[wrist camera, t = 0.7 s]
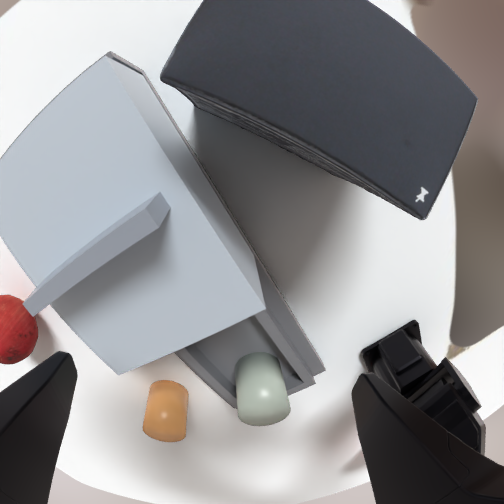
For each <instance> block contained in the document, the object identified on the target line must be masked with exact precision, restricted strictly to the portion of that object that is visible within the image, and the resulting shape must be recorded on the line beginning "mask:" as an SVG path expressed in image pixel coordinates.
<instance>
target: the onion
mask: <svg viewBox="0 0 504 504" xmlns="http://www.w3.org/2000/svg"><path fill="white" fill-rule="evenodd" d="M23 303H24V301H22V300H21V299H19V298H16V297H14V296H11V295H0V363H2V364H15V363H18V362H20V361H22V360H23V359H25V358H27V357H28V356H29V355H30V354H31V353H32V352H33V349H34V347H35V344H36V341H37V339H38V327H37V323H36V319H35V316H34V317H33V316H32V315H31V314H30V313H29V312H28V310H27V309H26V308H25V307H24V305H23Z"/></svg>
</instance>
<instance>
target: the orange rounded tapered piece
mask: <svg viewBox="0 0 504 504" xmlns="http://www.w3.org/2000/svg"><path fill="white" fill-rule="evenodd" d="M187 405H188V391H187V390H186V388H184V387H183V386H182V385H180V384H178V383H176V382H173V381H167V380H161V381H157V382H154V383H153V384H152V385H151V386H150V390H149V395H148V400H147V406H146V411H145V417H144V422H143V431H144V433H145V434H147V435H148V436H149V437H151V438H153V439H156V440H159V441H164V442H177V441H181V440H183V439H184V438H185V436H186V420H187Z"/></svg>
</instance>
